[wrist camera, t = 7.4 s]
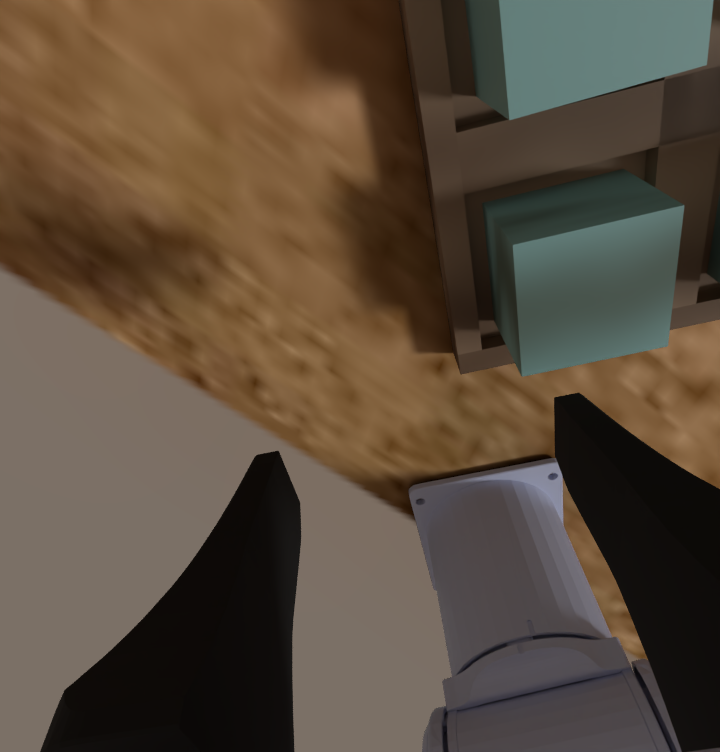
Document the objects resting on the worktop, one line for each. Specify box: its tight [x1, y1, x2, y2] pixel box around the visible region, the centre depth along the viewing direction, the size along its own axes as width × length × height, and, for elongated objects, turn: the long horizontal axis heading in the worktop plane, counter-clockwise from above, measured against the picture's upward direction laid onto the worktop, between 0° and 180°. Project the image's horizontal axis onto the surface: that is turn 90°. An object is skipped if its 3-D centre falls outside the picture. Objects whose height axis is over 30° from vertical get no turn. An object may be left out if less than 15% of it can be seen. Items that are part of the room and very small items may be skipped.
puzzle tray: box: [399, 0, 720, 377], centre depth 17 cm, size 17×17×5 cm
